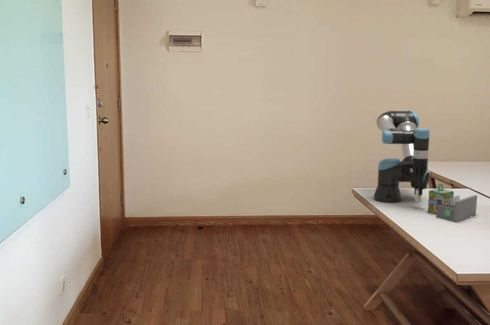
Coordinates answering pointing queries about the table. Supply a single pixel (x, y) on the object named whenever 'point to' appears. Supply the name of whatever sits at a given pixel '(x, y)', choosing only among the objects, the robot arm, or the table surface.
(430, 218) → the table surface
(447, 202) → the paddle
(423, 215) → the table surface
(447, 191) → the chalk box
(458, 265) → the table surface
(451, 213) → the stand
